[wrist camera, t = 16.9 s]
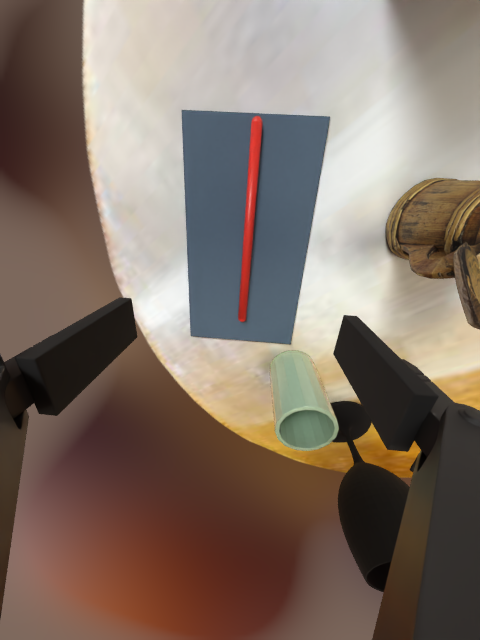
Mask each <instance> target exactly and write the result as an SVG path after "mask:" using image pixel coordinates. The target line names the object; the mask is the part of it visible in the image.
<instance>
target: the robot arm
mask: <svg viewBox="0 0 480 640" xmlns="http://www.w3.org/2000/svg"><path fill="white" fill-rule="evenodd" d="M136 338H137V332H136V325H135V319H134V312H133V306H132V300H131V298H118V299H116V300H114V301H113V302H111V303H109V304H107V305H106V306H104V307H102V308H100V309H98V310H97V311H95V312H93V313H92V314H90V315H88V316H86V317H84V318H83V319H81V320H79V321H77V322H76V323H74V324H72V325H70V326H69V327H67V328H65V329H63V330H62V331H60V332H58V333H56V334H54V335H52V336H50V337H48V338H46V339H45V340H43V341H42V342H39V343H38V344H36V345H34V346H33V347H31V348H29V349H27V350H25V351H24V352H22V353H20V354H18V355H16V356H15V357H13V358H11V359H9V360H7V361H6V362H4V361H3V359H2V357H1V355H0V618H1V610H2V603H3V596H4V589H5V582H6V574H7V568H8V560H9V554H10V547H11V539H12V532H13V525H14V517H15V511H16V504H17V497H18V490H19V483H20V475H21V469H22V461H23V454H24V446H25V440H26V433H27V426H28V418H29V416H28V413H27V410H26V409H27V408H28V407H29V406H31V405H32V404H33V403H35V406H36V408H37V410H38V412H39V414H46V415H55V416H57V415H58V414H59V413H60V412H61V411H62V410H63V409H64V408H66V407H67V406H68V404H70V403H71V402H72V401H73V399H75V398H76V397H77V395H79V394H80V393H81V392H82V391H83V390H84V389H85V388H86V387H87V386H88V385H89V384H90V383H91V382H92V381H93V380H94V379H95V378H96V377H97V376H98V375H99V374H100V373H101V372H102V371H103V370H104V369H105V368H106V367H107V366H108V365H109V364H110V363H111V362H112V361H113V360H114V359H115V358H116V357H117V356H118V355H120V354H121V352H123V351H124V350H125V349H126V348H127V347H128V346H129V345H130V344H131V343H132V342H133V341H134V340H135V339H136ZM333 354H334V356H335V358H336V359H337V361H338V363H339V365H340V367H341V368H342V370H343V372H344V374H345V375H346V377H347V379H348V381H349V382H350V384H351V386H352V388H353V390H354V391H355V393H356V395H357V397H358V398H359V400H360V402H361V404H362V406H363V407H364V409H365V411H366V413H367V414H368V416H369V418H370V420H371V421H372V423H373V425H374V427H375V429H376V430H377V432H378V434H379V436H380V437H381V439H382V441H383V443H384V445H385V446H386V448H387V450H397V451H406V452H408V451H409V449H410V447H411V445H412V443H413V442H414V441H415V442H416V443H417V445H418V446H419V448H420V449H421V451H420V453H419V455H418V456H417V458H416V460H415V461H414V463H413V465H412V466H411V468H410V470H411V471H412V472H413V471H414V472H413V476H412V480H411V484H410V488H409V492H408V496H407V500H406V504H405V509H404V513H403V517H402V521H401V525H400V529H399V533H398V537H397V541H396V545H395V549H394V553H393V557H392V561H391V565H390V569H389V573H388V577H387V582H386V586H385V590H384V594H383V599H382V602H381V606H380V610H379V614H378V618H377V622H376V626H375V630H374V634H373V639H372V640H480V411H479V410H477V409H475V408H473V407H470V406H467V405H464V404H458V403H454V402H453V401H452V400H451V399H450V398H449V397H448V396H447V395H446V394H445V393H444V392H443V391H441V390H440V389H439V388H438V387H437V386H436V385H435V384H434V383H433V382H431V380H430V379H429V378H428V377H426V376H424V374H423V373H422V372H421V371H420V370H419V369H418V368H417V367H416V366H414V365H412V364H411V363H409V362H407V361H406V360H404V359H400V358H399V357H398V356H397V355H396V354H395V353H394V352H393V351H392V350H391V349H390V348H389V347H388V346H387V345H386V344H385V343H384V342H383V341H382V340H381V339H380V338H379V337H378V336H377V335H376V334H375V333H374V332H373V331H372V330H370V329H369V328H368V327H367V326H366V325H365V324H364V323H363V322H362V321H361V320H360V319H359V318H358V317H357V316H348V315H344V317H343V320H342V324H341V328H340V331H339V335H338V339H337V342H336V346H335V350H334V353H333Z"/></svg>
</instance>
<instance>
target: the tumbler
mask: <svg viewBox="0 0 480 640" xmlns="http://www.w3.org/2000/svg"><path fill="white" fill-rule="evenodd" d="M270 382H271V393H272V404H273V415H274V426H275V433H276V435H277V438H278V440H279V441H281V442H282V443H283V444H284V445H285V446H287V447H290V448H292V449H295V450H302V451H310V450H316V449H320V448H322V447H324V446H326V445H328V444H330V443H331V442H332V441H333V440H334V439H335V438H336V436H337V433H338V430H339V426H338V422H337V419H336V416H335V414H334V411H333V409H332V406H331V404H330V401H329V399H328V397H327V394H326V392H325V389H324V387H323V384H322V382H321V379H320V377H319V374H318V372H317V369H316V367H315V365H314V362H313V361H312V359H311V358H310V357H309V356H308V355H307V354H305V353H303V352H300V351H286V352H283V353H281V354H279V355H277V356H276V357H275V358H274V359H273V361H272V362H271V365H270Z"/></svg>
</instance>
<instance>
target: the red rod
mask: <svg viewBox="0 0 480 640" xmlns="http://www.w3.org/2000/svg"><path fill="white" fill-rule="evenodd" d="M261 135H262V119H261V117H259V116H255V117H254V118H253V119H252V121H251V135H250V149H249V164H248V179H247V194H246V209H245V223H244V238H243V253H242V268H241V283H240V298H239V312H238V320H239V321H240V322H244V321H245V320H246V314H247V302H248V290H249V278H250V266H251V254H252V243H253V231H254V219H255V207H256V195H257V183H258V171H259V159H260V147H261Z"/></svg>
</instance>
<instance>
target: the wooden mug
mask: <svg viewBox="0 0 480 640" xmlns="http://www.w3.org/2000/svg"><path fill="white" fill-rule="evenodd" d="M386 237H387V241H388V244H389V247H390V250H391V251H392V252H393V253H394V254H395V255H397V256H398V257H401V258H404V259H407V260H410V266H411V270H412V271H413V272H414V273H416V274H417V275H419V276H423V277H427V278H434V279H444V278H455V280H456V285H457V289H458V293H459V297H460V300H461V303H462V306H463V310H464V313H465V316H466V319H467V321H468V323H469V324H470V325H471V326H472V327H474V328H477V329H480V181H465V180H457V179H444V178H434V179H429V180H425V181H423V182H421V183H419V184H417V185H415V186H414V187H413V188H411V189H410V190H409V191H408V192H406V193H405V194H404V195H403V196H402V197H401V199H400V200H399V201H398V202H397V204H396V205H395V206H394V208H393V209H392V211H391V213H390V215H389V218H388V221H387V224H386Z"/></svg>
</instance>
